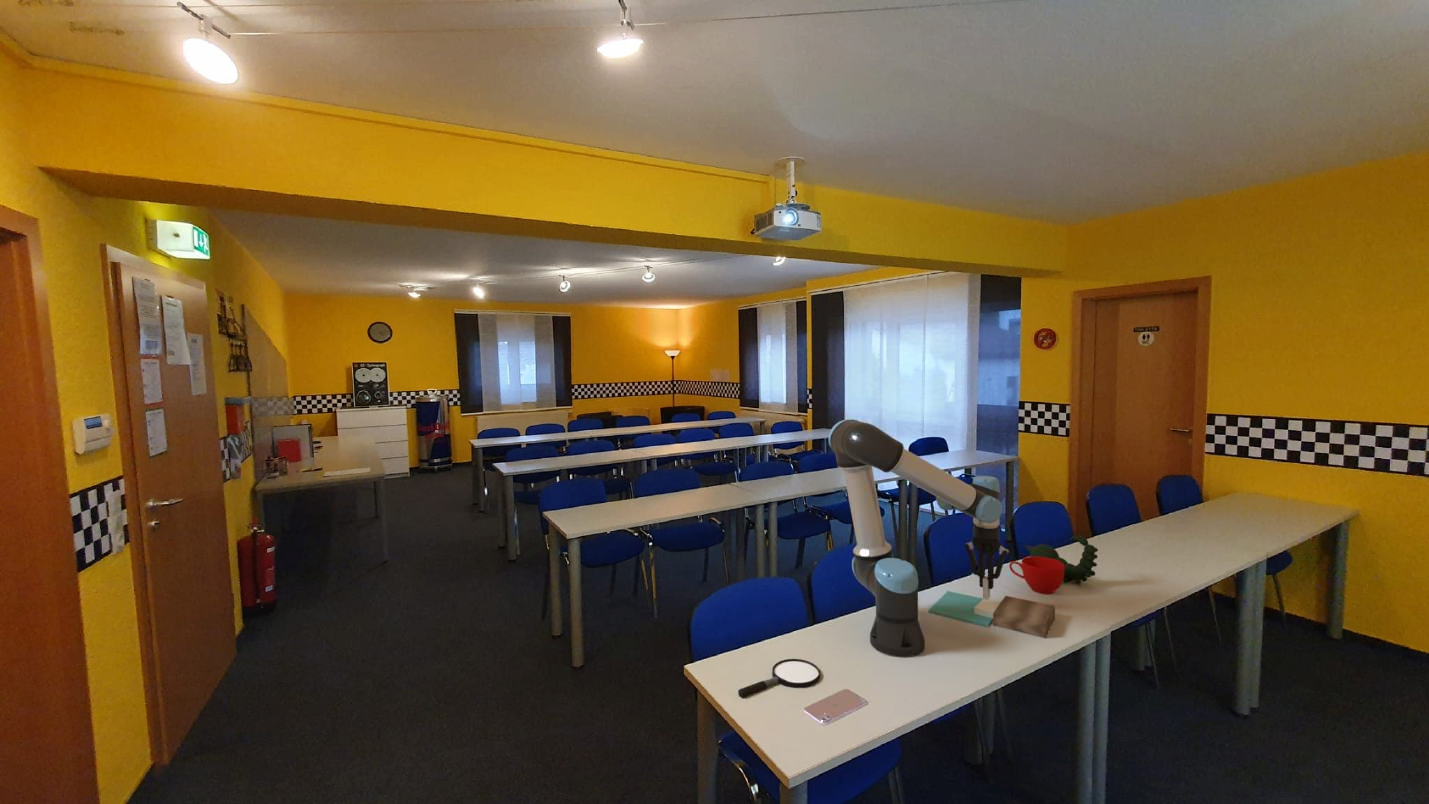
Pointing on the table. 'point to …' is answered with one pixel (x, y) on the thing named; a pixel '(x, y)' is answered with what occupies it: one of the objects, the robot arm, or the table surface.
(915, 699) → the table surface
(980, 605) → the tile
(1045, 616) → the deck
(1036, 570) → the ceramic cup
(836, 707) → the mobile phone
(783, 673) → the magnifying glass
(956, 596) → the mat
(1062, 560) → the toy figurine
